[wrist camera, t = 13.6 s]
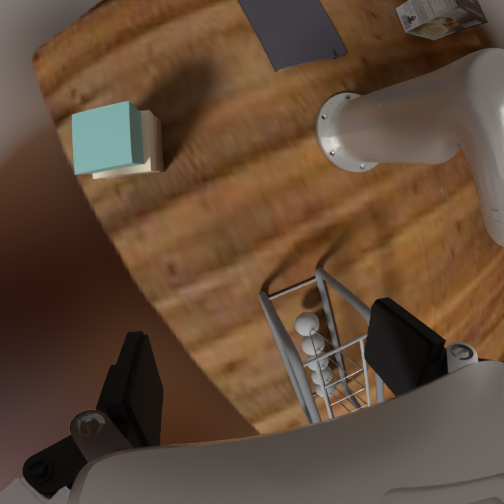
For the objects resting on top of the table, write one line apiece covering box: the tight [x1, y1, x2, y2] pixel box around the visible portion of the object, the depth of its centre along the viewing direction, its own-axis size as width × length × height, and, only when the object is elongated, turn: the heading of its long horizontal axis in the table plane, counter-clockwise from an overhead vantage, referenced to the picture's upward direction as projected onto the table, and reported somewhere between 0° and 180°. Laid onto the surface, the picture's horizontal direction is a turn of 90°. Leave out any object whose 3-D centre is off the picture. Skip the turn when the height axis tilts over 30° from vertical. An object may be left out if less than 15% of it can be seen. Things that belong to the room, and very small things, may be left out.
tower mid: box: [93, 110, 158, 179], centre depth 28 cm, size 6×6×5 cm
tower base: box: [105, 115, 164, 180], centre depth 33 cm, size 7×7×5 cm
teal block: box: [72, 101, 144, 174], centre depth 23 cm, size 6×6×6 cm
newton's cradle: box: [258, 267, 384, 424], centre depth 40 cm, size 30×10×18 cm, turn 19°
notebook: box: [238, 0, 347, 72], centre depth 32 cm, size 13×2×21 cm
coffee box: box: [396, 0, 487, 40], centre depth 27 cm, size 9×6×16 cm
